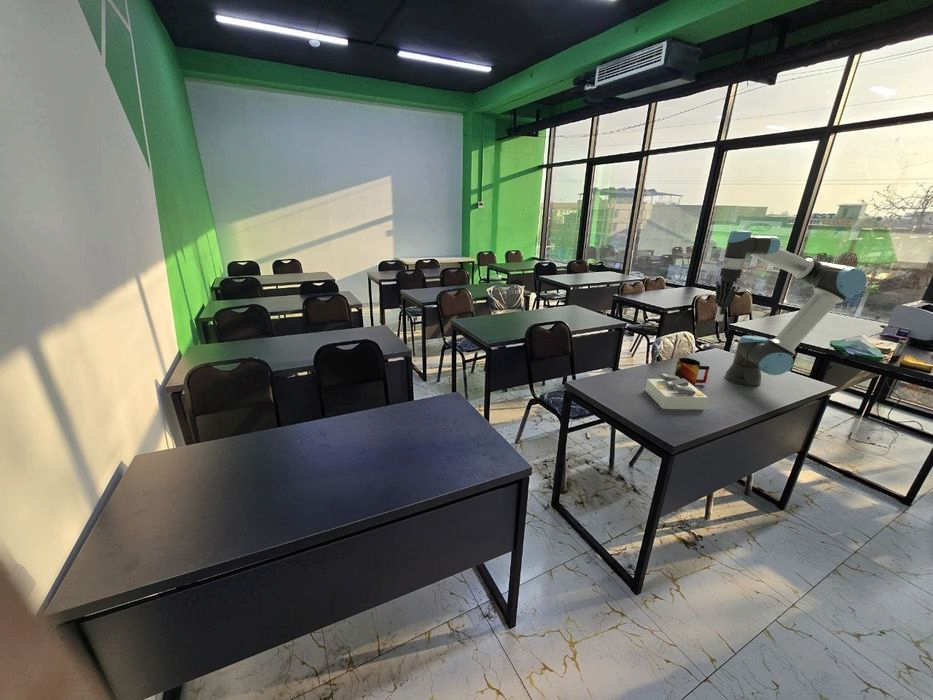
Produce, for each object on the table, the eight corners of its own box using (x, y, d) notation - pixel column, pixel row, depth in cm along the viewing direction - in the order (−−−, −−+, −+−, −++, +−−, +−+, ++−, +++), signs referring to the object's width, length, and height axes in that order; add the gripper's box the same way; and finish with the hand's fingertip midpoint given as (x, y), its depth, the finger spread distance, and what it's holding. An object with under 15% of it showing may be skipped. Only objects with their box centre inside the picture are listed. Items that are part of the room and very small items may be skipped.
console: (682, 390, 188) (685, 378, 185) (704, 409, 171) (707, 395, 169) (645, 390, 188) (647, 377, 185) (663, 409, 171) (666, 395, 168)
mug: (705, 385, 194) (711, 362, 190) (684, 389, 190) (690, 366, 185) (689, 377, 203) (694, 355, 199) (668, 381, 198) (673, 359, 194)
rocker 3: (689, 391, 173) (690, 387, 173) (693, 395, 170) (696, 391, 169) (672, 387, 173) (674, 383, 172) (676, 391, 169) (678, 387, 168)
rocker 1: (675, 379, 185) (677, 375, 184) (680, 383, 181) (681, 379, 180) (659, 376, 184) (660, 372, 183) (663, 380, 180) (665, 376, 180)
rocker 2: (683, 381, 178) (683, 378, 178) (688, 385, 175) (688, 381, 174) (665, 385, 179) (665, 381, 178) (670, 388, 175) (670, 385, 174)
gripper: (714, 265, 175) (702, 316, 184) (732, 270, 163) (718, 324, 172) (730, 265, 176) (718, 316, 184) (750, 270, 163) (736, 325, 172)
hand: (718, 320), depth 178 cm, fingers closed
